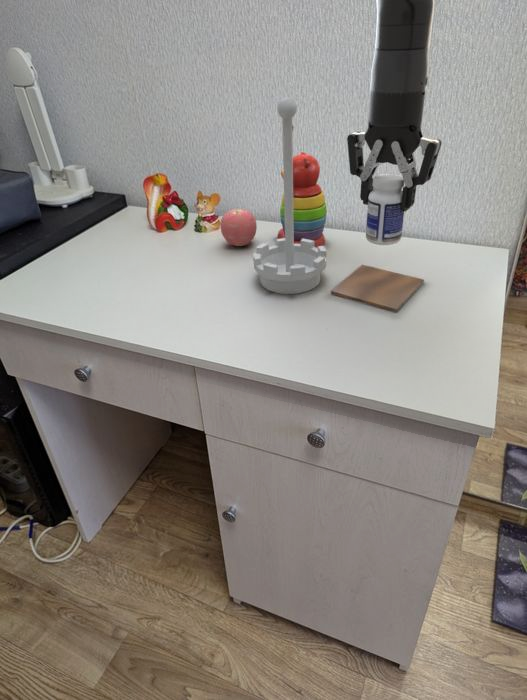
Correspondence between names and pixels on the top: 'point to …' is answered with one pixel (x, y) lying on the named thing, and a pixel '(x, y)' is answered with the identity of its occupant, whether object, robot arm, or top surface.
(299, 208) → the stacking bear
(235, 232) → the apple
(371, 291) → the coaster
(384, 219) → the pill bottle
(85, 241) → the top surface
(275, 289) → the grey countertop holder stand
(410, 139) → the robot arm
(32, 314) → the top surface
